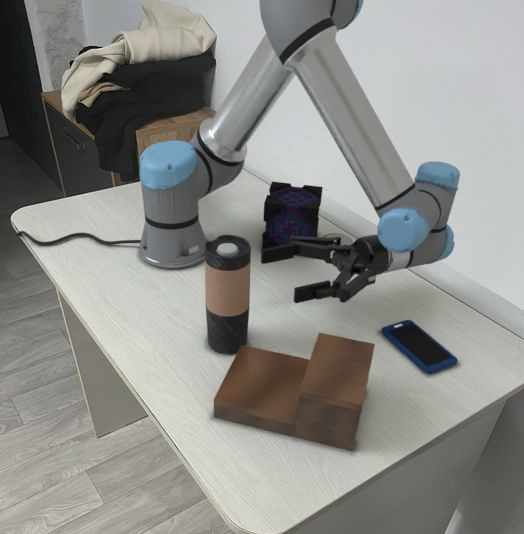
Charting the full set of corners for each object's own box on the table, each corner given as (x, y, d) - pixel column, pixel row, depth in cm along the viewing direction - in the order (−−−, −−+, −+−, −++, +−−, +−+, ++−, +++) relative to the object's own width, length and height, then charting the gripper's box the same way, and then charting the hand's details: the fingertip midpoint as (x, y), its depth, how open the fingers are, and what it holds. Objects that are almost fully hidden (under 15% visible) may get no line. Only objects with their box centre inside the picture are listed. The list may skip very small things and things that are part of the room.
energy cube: (261, 251, 126) (264, 202, 118) (269, 227, 135) (272, 181, 127) (313, 257, 125) (318, 208, 117) (317, 233, 134) (322, 186, 126)
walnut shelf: (213, 417, 85) (212, 370, 79) (240, 361, 95) (241, 316, 89) (352, 451, 81) (363, 404, 74) (364, 389, 91) (375, 343, 85)
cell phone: (408, 321, 107) (409, 318, 106) (458, 363, 97) (459, 360, 97) (379, 331, 104) (379, 327, 103) (427, 375, 95) (428, 372, 94)
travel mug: (247, 356, 97) (250, 258, 84) (204, 354, 96) (201, 256, 84) (248, 330, 102) (252, 235, 90) (208, 328, 102) (206, 233, 89)
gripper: (414, 306, 96) (308, 332, 88) (342, 241, 113) (249, 259, 106) (424, 269, 91) (313, 294, 84) (347, 208, 108) (250, 224, 101)
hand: (277, 275), depth 95 cm, fingers open, 13 cm apart
